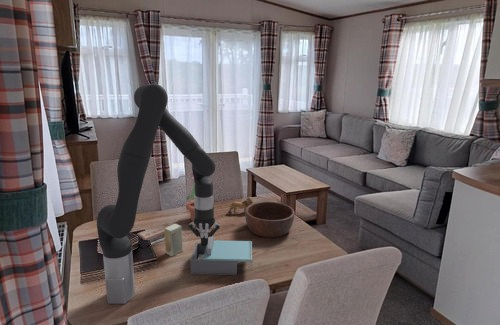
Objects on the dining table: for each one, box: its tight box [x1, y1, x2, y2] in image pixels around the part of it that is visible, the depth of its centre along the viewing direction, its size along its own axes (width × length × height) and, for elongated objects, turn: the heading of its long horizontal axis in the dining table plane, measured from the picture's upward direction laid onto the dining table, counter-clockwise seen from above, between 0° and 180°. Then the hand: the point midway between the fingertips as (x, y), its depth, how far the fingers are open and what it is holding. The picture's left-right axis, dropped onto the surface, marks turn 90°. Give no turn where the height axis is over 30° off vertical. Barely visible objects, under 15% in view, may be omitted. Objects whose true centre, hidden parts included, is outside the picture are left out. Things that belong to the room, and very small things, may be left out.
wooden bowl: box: [244, 201, 296, 239], centre depth 171 cm, size 25×25×10 cm
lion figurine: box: [227, 196, 254, 215], centre depth 190 cm, size 15×5×9 cm, turn 105°
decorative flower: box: [185, 172, 195, 222], centre depth 176 cm, size 15×14×30 cm
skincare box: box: [164, 223, 184, 257], centre depth 146 cm, size 6×4×12 cm
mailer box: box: [190, 242, 239, 276], centre depth 139 cm, size 14×18×6 cm
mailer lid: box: [203, 236, 253, 266], centre depth 137 cm, size 15×19×5 cm
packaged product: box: [136, 223, 171, 246], centre depth 159 cm, size 18×5×10 cm
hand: (204, 245), depth 137 cm, fingers closed
